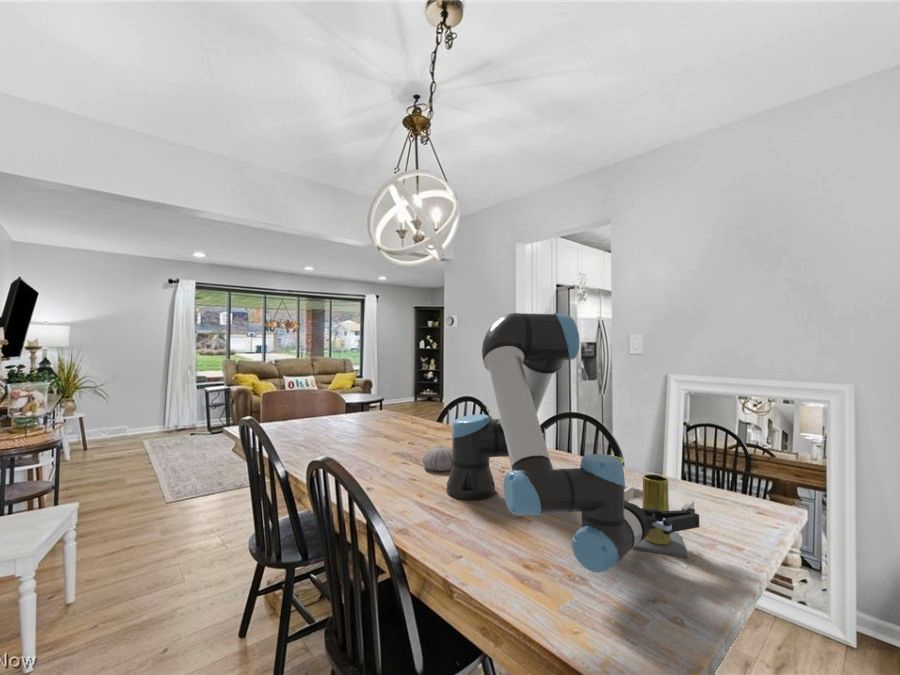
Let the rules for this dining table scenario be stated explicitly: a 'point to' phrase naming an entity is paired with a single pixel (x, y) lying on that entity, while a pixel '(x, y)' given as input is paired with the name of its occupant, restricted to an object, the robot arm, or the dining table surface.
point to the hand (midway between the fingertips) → (660, 498)
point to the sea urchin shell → (438, 459)
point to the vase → (656, 504)
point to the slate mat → (665, 546)
